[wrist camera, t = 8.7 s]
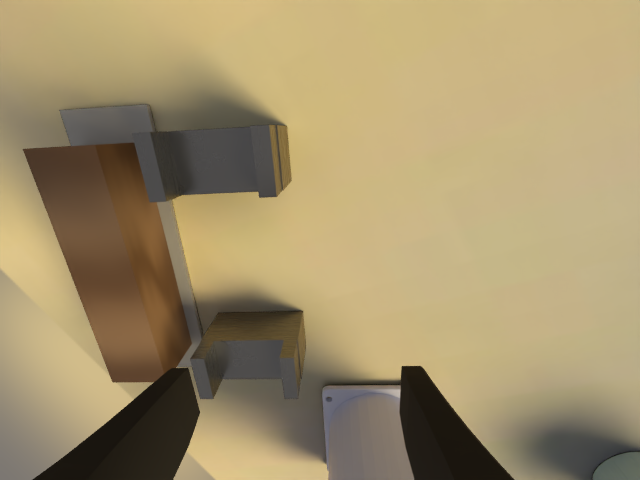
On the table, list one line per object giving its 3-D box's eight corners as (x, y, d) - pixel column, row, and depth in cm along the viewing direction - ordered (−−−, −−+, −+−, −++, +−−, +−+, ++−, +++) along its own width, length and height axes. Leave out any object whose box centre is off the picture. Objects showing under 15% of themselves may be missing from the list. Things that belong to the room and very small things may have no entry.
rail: (192, 343, 22) (166, 382, 18) (146, 344, 22) (112, 382, 19) (141, 141, 17) (94, 144, 13) (82, 145, 17) (22, 148, 14)
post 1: (291, 180, 17) (277, 196, 13) (192, 185, 18) (148, 202, 14) (286, 126, 16) (270, 124, 12) (181, 132, 17) (130, 133, 13)
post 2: (305, 346, 22) (299, 398, 17) (225, 347, 22) (199, 398, 18) (302, 311, 21) (294, 357, 16) (218, 312, 21) (189, 358, 17)
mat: (209, 363, 23) (207, 366, 22) (146, 364, 23) (144, 366, 23) (149, 104, 16) (146, 104, 16) (64, 110, 17) (59, 110, 16)
